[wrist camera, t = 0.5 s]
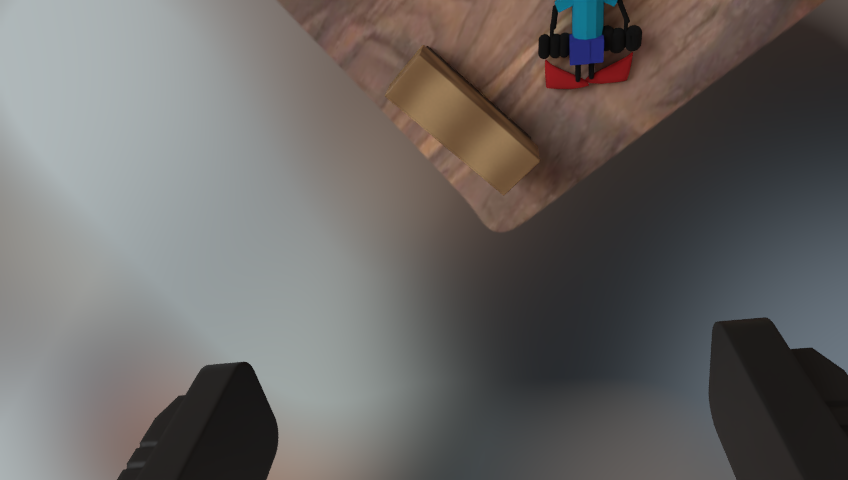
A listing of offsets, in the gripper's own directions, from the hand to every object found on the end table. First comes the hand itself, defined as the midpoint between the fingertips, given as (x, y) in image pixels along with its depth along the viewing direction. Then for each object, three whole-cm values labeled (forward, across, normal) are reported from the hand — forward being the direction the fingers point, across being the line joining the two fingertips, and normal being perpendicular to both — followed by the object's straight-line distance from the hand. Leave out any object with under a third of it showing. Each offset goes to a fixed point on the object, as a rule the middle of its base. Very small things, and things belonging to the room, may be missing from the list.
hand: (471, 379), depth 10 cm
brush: (+39, +3, +8) cm, 40 cm away
